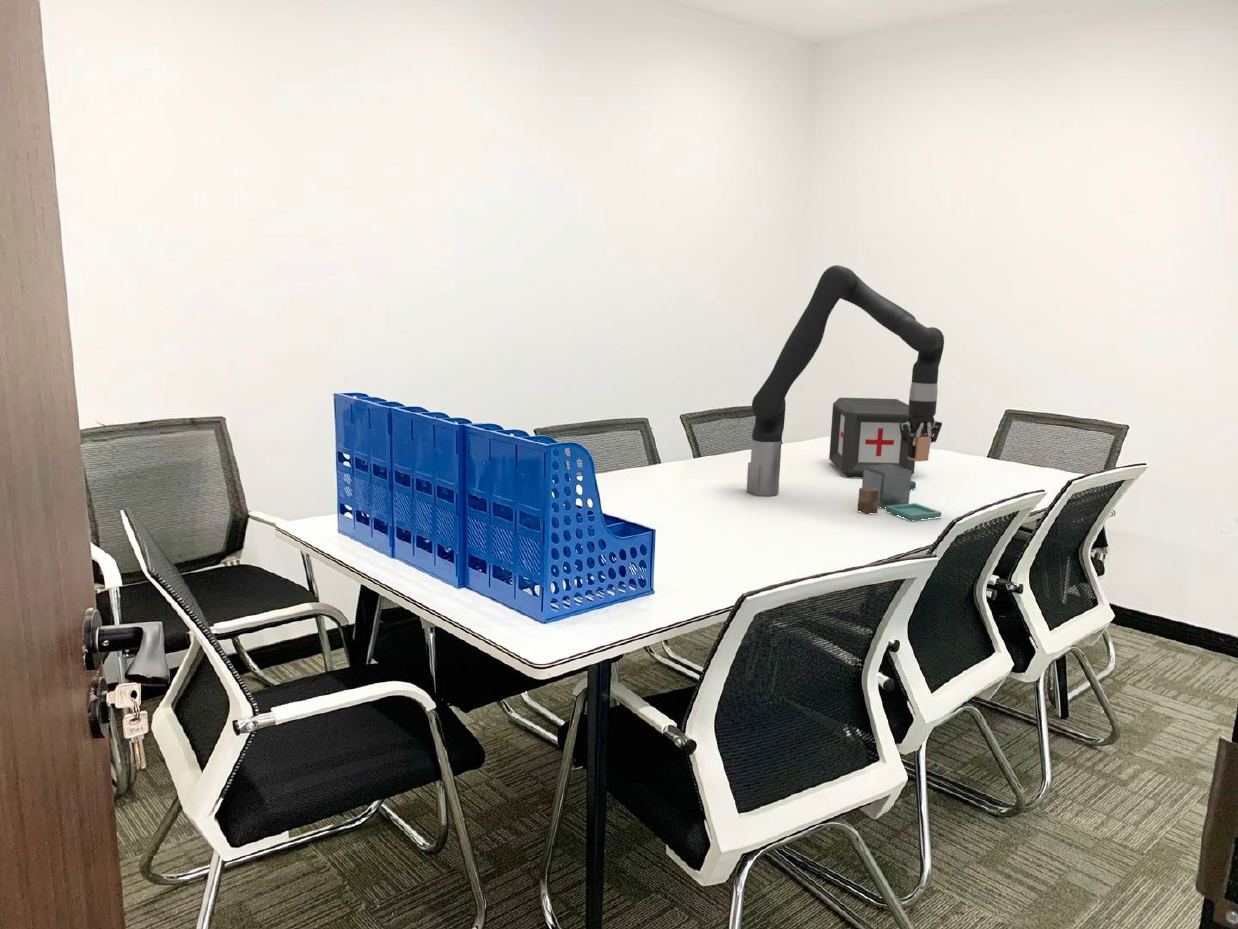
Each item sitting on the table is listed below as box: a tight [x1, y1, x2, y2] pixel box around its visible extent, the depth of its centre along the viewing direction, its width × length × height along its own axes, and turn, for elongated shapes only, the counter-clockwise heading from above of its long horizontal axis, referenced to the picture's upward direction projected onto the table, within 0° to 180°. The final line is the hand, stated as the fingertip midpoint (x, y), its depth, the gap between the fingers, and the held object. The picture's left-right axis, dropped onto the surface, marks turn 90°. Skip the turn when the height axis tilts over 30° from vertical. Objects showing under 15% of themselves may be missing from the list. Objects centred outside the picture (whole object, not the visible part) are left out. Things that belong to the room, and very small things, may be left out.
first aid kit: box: [828, 397, 916, 478], centre depth 321 cm, size 25×25×25 cm
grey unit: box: [861, 464, 912, 509], centre depth 277 cm, size 11×10×11 cm
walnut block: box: [857, 487, 879, 515], centre depth 267 cm, size 4×4×7 cm
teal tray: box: [885, 502, 942, 522], centre depth 265 cm, size 11×11×2 cm
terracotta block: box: [908, 435, 931, 462], centre depth 261 cm, size 4×4×7 cm
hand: (917, 457), depth 261 cm, fingers closed on terracotta block, 4 cm apart
